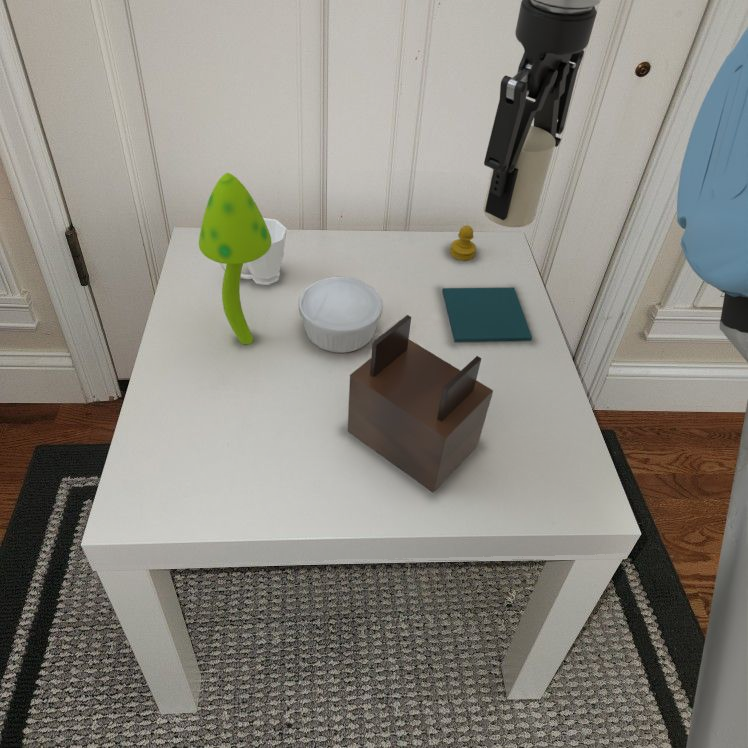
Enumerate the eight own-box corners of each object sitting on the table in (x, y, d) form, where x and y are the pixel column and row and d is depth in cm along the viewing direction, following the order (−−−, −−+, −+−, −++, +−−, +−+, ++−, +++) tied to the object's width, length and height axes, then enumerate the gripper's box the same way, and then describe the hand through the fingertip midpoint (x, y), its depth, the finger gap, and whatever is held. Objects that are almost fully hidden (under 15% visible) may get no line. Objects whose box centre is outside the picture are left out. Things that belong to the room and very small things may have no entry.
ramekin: (291, 311, 94) (290, 282, 90) (366, 299, 96) (368, 270, 93) (310, 366, 86) (310, 337, 83) (390, 351, 89) (393, 322, 85)
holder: (477, 445, 79) (502, 358, 68) (433, 493, 74) (452, 406, 63) (394, 390, 84) (404, 301, 73) (347, 431, 79) (351, 342, 68)
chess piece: (448, 245, 107) (453, 219, 103) (472, 245, 107) (477, 219, 103) (452, 260, 104) (456, 234, 100) (476, 260, 104) (482, 234, 101)
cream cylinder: (544, 212, 84) (566, 138, 76) (517, 234, 80) (537, 158, 73) (501, 192, 86) (517, 118, 79) (472, 212, 83) (487, 137, 75)
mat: (513, 290, 100) (514, 287, 99) (531, 340, 92) (532, 337, 92) (442, 291, 99) (442, 287, 98) (454, 342, 91) (454, 339, 91)
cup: (292, 287, 97) (291, 242, 91) (224, 296, 95) (217, 250, 89) (284, 259, 102) (282, 214, 96) (219, 266, 100) (212, 221, 94)
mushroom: (273, 364, 86) (260, 196, 68) (209, 359, 86) (178, 190, 68) (281, 321, 92) (272, 156, 74) (221, 316, 92) (197, 150, 74)
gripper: (573, -29, 72) (526, 163, 89) (473, 13, 61) (441, 222, 78) (637, -11, 69) (575, 184, 86) (543, 37, 58) (494, 249, 75)
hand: (511, 202), depth 82 cm, fingers closed on cream cylinder, 7 cm apart
